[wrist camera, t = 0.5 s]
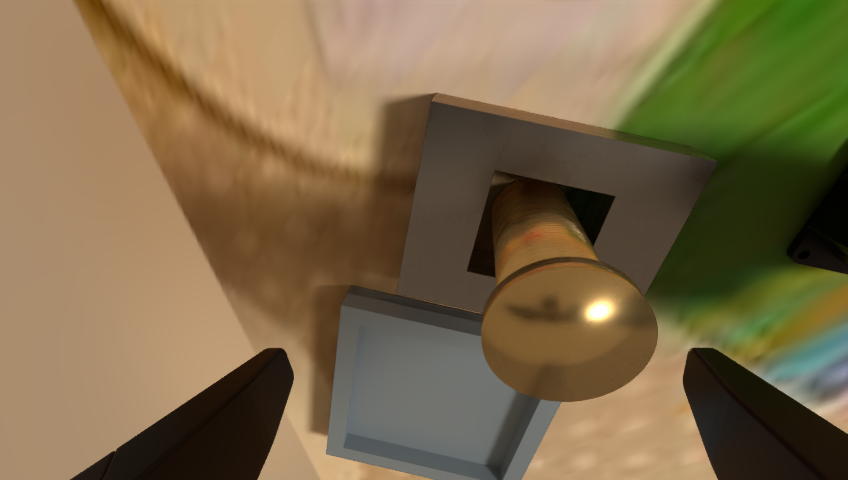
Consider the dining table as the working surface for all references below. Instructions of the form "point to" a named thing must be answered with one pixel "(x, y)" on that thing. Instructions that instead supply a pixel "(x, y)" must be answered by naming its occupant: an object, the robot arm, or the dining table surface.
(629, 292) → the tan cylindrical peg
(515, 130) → the block
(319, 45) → the dining table surface
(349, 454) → the tray
